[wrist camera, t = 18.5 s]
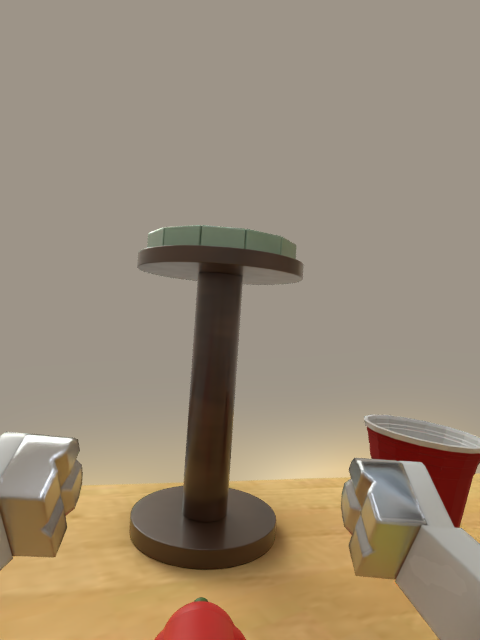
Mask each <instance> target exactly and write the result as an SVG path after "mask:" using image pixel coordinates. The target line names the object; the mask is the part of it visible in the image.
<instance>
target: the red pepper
mask: <svg viewBox="0 0 480 640" xmlns="http://www.w3.org/2000/svg"><path fill="white" fill-rule="evenodd" d="M155 640H246V639H245V637H244V635H243V634H242V633H241V631H240V630H239V629H238V628H237V627H235V625H234V624H233V622H232V620H231V618H230V616H229V615H228V614H227V613H226V612H225V611H224V610H223V609H221V608H220V607H219V606H217V605H215V604H213V603H210V602H208V600H207V599H205V598H202V597H200V598H197V599H196V600H195V601H194V602H192V603H189V604H187V605H185V606H183V607H181V608H180V609H179V610H177V611H176V612H175V613H174V614H173V615H172V617H171V618H170V619H169V620H168V622H167V624H166V625H165V627H164V629H163V630H162V631H161V632H160V633H159V634H158V635H157V637H156V638H155Z"/></svg>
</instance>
